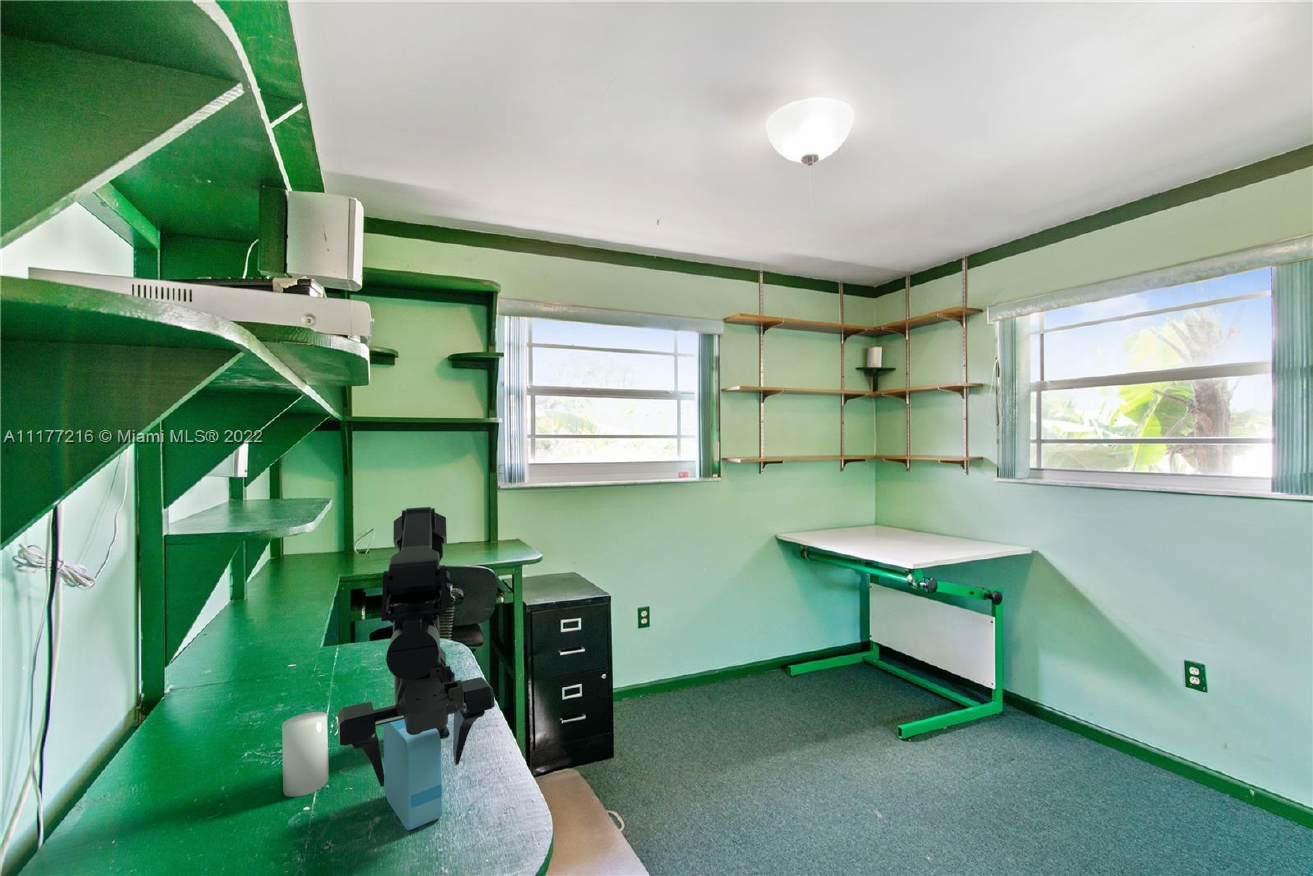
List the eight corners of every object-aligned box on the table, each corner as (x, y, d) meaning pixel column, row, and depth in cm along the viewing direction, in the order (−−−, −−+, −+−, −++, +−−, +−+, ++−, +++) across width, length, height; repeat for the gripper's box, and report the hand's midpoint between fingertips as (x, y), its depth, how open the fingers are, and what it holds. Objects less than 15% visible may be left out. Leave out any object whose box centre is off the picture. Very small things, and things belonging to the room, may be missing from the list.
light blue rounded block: (443, 821, 81) (441, 732, 81) (409, 836, 78) (407, 743, 78) (416, 786, 90) (414, 706, 90) (384, 798, 87) (382, 715, 88)
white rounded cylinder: (283, 783, 92) (282, 718, 93) (327, 771, 95) (326, 708, 96) (282, 801, 87) (281, 732, 88) (329, 788, 90) (327, 722, 91)
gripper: (340, 690, 67) (343, 831, 66) (504, 656, 76) (508, 779, 76) (336, 663, 76) (338, 786, 76) (482, 635, 86) (485, 745, 85)
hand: (420, 774), depth 78 cm, fingers open, 9 cm apart
